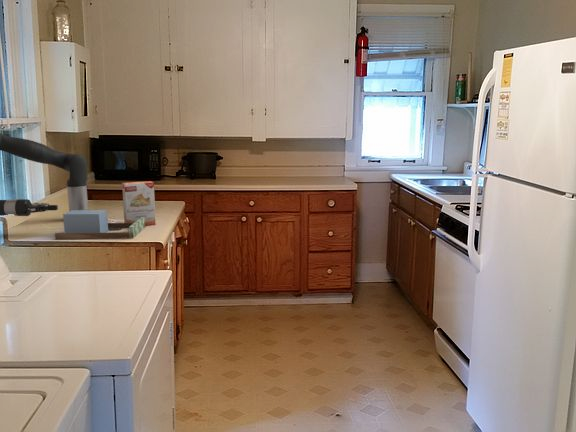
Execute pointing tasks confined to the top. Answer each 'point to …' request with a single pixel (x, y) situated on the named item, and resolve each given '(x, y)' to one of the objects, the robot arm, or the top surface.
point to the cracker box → (139, 202)
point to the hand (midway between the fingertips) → (57, 207)
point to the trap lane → (133, 231)
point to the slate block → (85, 221)
